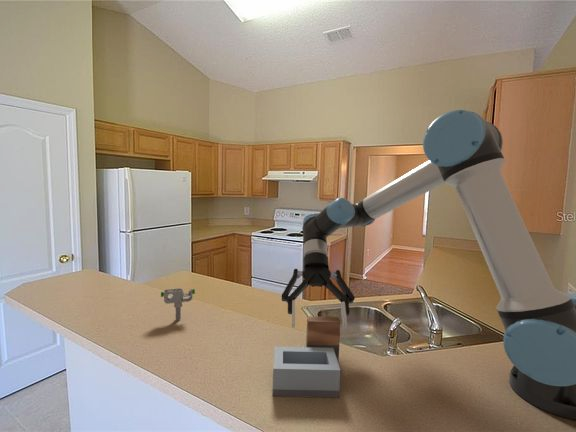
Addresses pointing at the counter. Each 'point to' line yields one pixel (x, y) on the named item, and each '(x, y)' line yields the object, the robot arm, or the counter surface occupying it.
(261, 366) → the counter surface
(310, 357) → the frame block
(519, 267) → the robot arm
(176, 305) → the mechanical component
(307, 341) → the brown wood block
